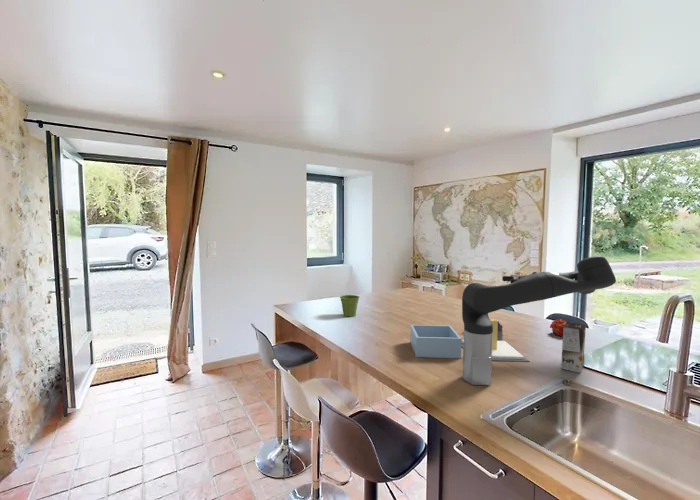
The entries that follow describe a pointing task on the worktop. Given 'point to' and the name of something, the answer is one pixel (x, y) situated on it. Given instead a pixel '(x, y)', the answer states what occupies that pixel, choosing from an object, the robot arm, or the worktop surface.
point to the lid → (502, 346)
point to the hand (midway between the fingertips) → (506, 280)
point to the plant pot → (349, 304)
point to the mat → (508, 359)
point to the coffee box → (573, 347)
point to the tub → (435, 341)
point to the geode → (499, 333)
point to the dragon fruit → (558, 326)
